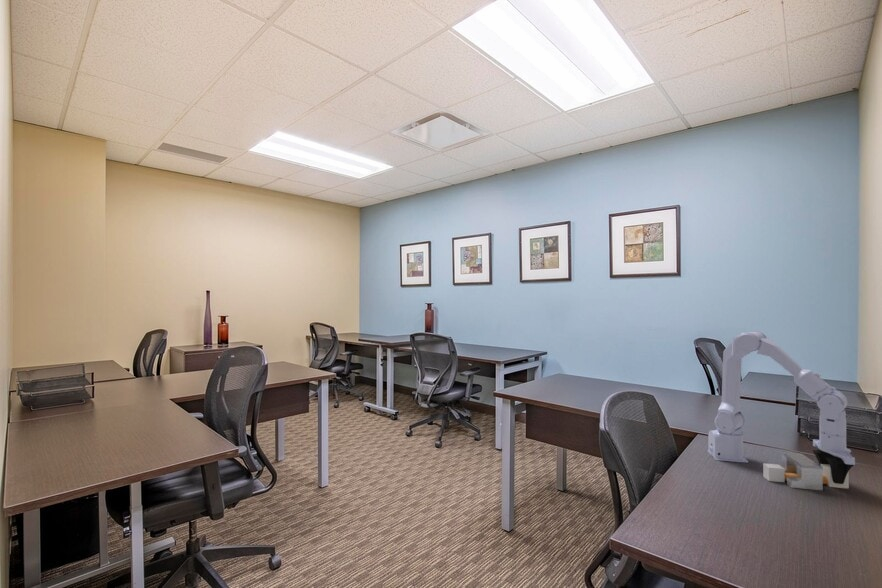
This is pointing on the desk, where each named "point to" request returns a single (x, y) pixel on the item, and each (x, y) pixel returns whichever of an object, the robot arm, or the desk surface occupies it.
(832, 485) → the plug
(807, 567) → the desk surface
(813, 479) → the housing
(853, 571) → the desk surface
